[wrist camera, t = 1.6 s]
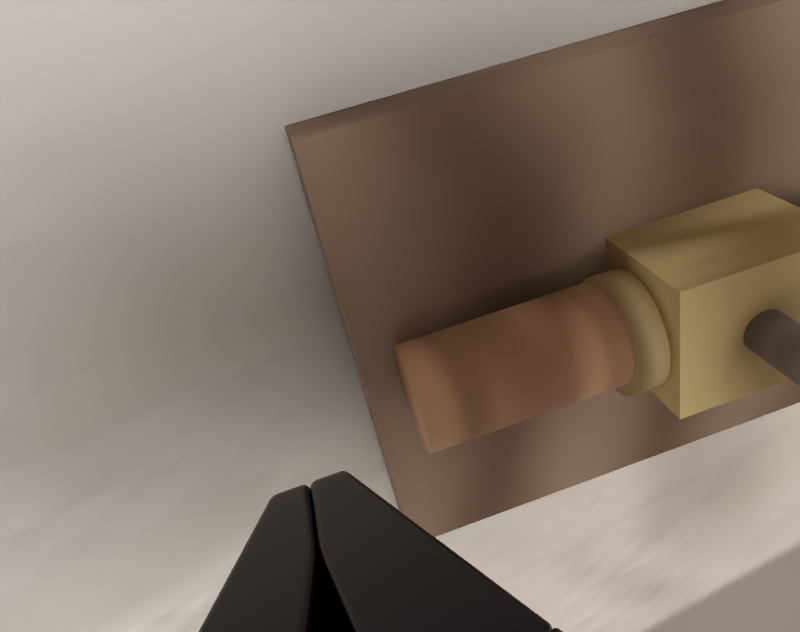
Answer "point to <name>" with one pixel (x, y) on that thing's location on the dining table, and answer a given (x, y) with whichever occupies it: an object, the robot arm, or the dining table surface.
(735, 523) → the dining table surface
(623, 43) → the valve stand
